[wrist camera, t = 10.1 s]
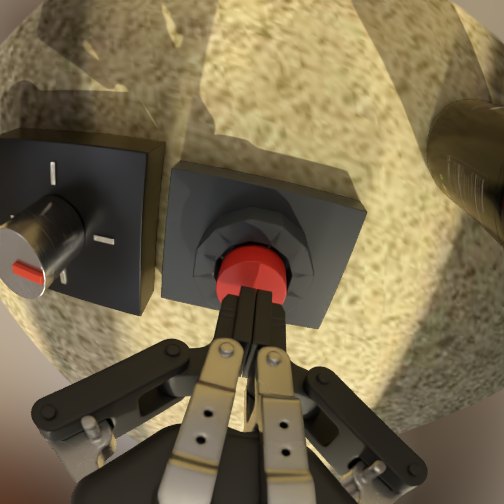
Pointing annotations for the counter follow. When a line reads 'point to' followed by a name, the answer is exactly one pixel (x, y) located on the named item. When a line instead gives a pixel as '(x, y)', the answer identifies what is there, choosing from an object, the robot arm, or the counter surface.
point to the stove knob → (39, 245)
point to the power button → (252, 272)
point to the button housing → (256, 236)
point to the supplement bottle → (471, 160)
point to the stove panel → (92, 206)
